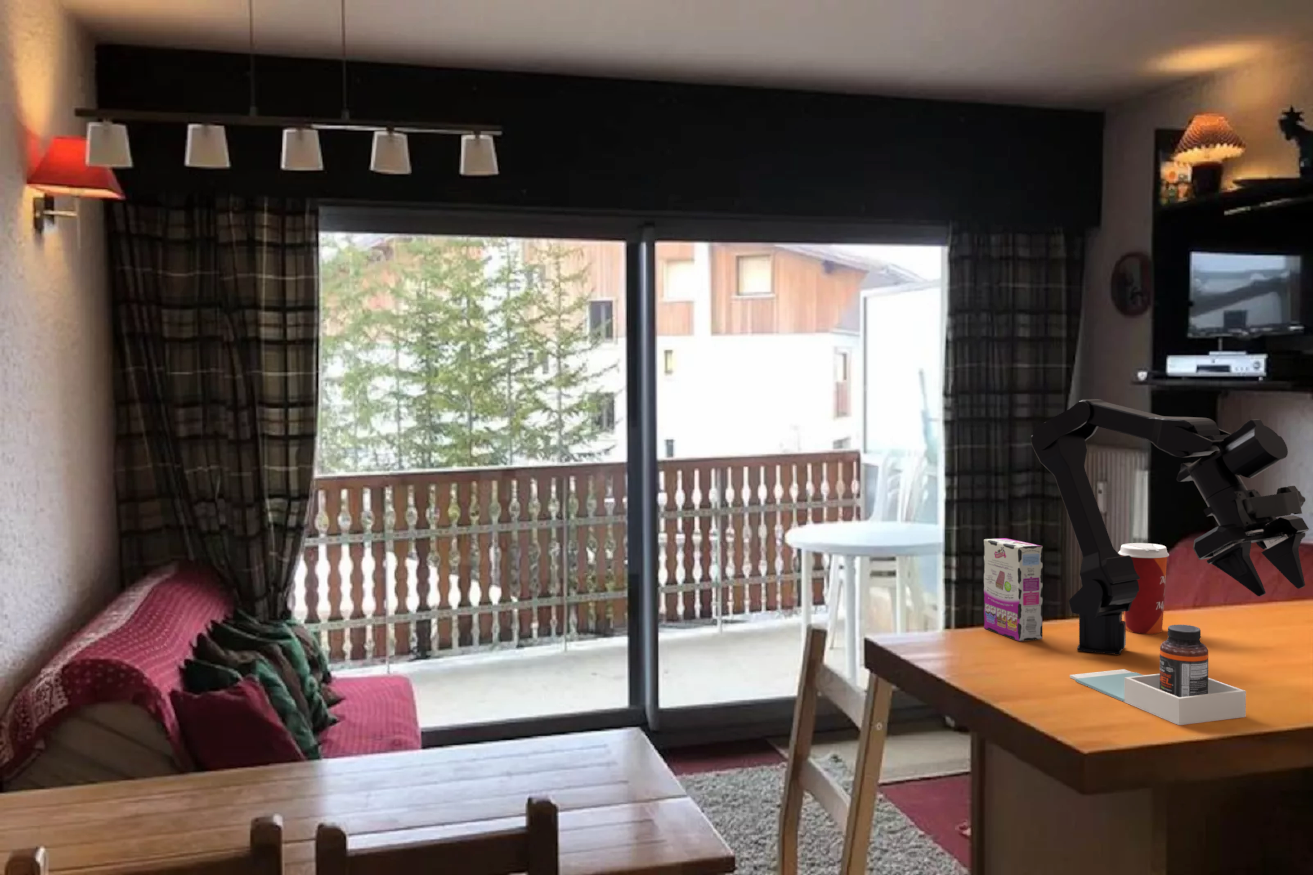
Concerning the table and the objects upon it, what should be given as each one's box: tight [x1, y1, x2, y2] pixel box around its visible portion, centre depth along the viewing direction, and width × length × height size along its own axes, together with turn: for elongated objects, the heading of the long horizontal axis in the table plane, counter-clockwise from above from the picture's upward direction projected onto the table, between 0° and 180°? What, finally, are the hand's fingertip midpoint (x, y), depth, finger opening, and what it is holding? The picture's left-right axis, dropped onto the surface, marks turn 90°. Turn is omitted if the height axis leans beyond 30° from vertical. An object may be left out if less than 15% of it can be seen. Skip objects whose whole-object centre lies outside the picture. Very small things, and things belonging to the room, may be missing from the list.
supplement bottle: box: [1159, 624, 1209, 697], centre depth 146 cm, size 6×6×11 cm
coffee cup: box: [1117, 542, 1170, 635], centre depth 191 cm, size 8×8×15 cm
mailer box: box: [1069, 668, 1247, 726], centre depth 153 cm, size 10×23×4 cm, turn 15°
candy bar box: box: [983, 537, 1044, 642], centre depth 190 cm, size 11×5×16 cm, turn 16°
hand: (1282, 591), depth 151 cm, fingers open, 9 cm apart
